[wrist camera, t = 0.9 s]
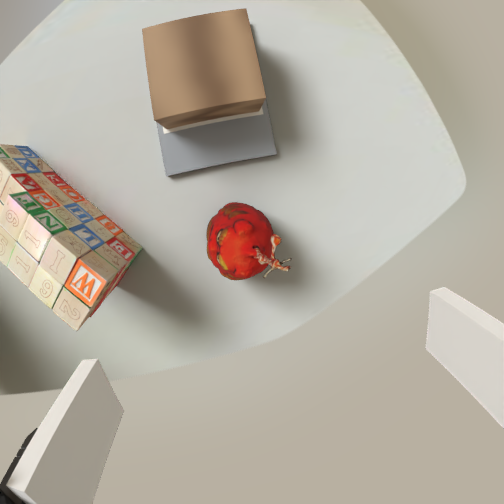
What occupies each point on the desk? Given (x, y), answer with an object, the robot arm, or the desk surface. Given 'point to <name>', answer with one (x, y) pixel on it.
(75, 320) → the stack of blocks
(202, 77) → the plinth
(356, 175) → the desk surface
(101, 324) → the desk surface
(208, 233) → the red clay folk toy
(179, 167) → the board
